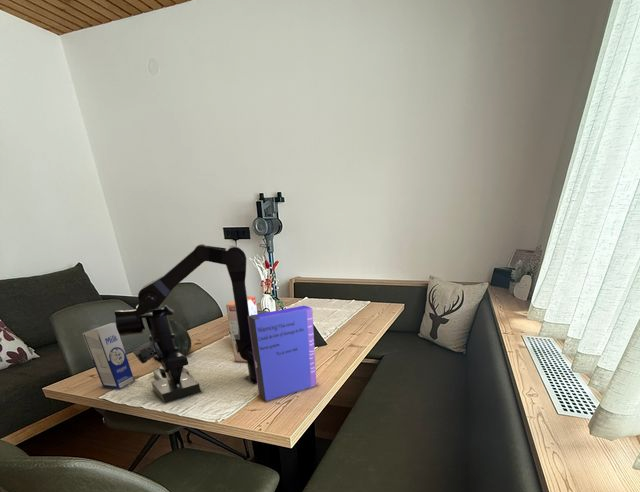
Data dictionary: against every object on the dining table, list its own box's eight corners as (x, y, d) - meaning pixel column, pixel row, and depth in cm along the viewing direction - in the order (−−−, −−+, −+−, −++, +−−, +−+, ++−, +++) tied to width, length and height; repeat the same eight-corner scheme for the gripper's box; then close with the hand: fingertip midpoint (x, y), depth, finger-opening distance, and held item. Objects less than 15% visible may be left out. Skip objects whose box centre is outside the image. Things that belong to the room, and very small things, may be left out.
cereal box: (308, 380, 115) (303, 304, 103) (316, 385, 112) (312, 307, 100) (259, 395, 107) (247, 315, 95) (266, 401, 104) (254, 318, 91)
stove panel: (201, 392, 111) (198, 383, 109) (164, 403, 105) (162, 393, 103) (187, 380, 119) (185, 371, 117) (153, 390, 113) (150, 381, 112)
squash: (142, 341, 140) (143, 316, 128) (180, 334, 149) (184, 310, 137) (157, 371, 138) (160, 348, 126) (194, 362, 146) (200, 340, 134)
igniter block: (190, 377, 121) (187, 366, 119) (162, 385, 116) (159, 373, 114) (180, 369, 128) (177, 358, 126) (154, 376, 123) (151, 365, 121)
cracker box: (249, 362, 131) (240, 304, 120) (234, 362, 132) (224, 304, 122) (263, 349, 143) (256, 295, 132) (248, 349, 144) (240, 295, 133)
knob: (182, 382, 110) (178, 369, 108) (170, 386, 108) (166, 372, 106) (178, 379, 113) (175, 366, 110) (166, 382, 111) (163, 369, 109)
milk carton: (119, 389, 115) (96, 328, 104) (102, 387, 116) (79, 327, 106) (135, 380, 120) (115, 321, 110) (119, 379, 122) (98, 320, 112)
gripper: (123, 330, 105) (139, 379, 112) (139, 345, 92) (155, 399, 100) (162, 322, 110) (174, 369, 118) (182, 336, 97) (194, 387, 105)
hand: (174, 381), depth 110 cm, fingers open, 5 cm apart
